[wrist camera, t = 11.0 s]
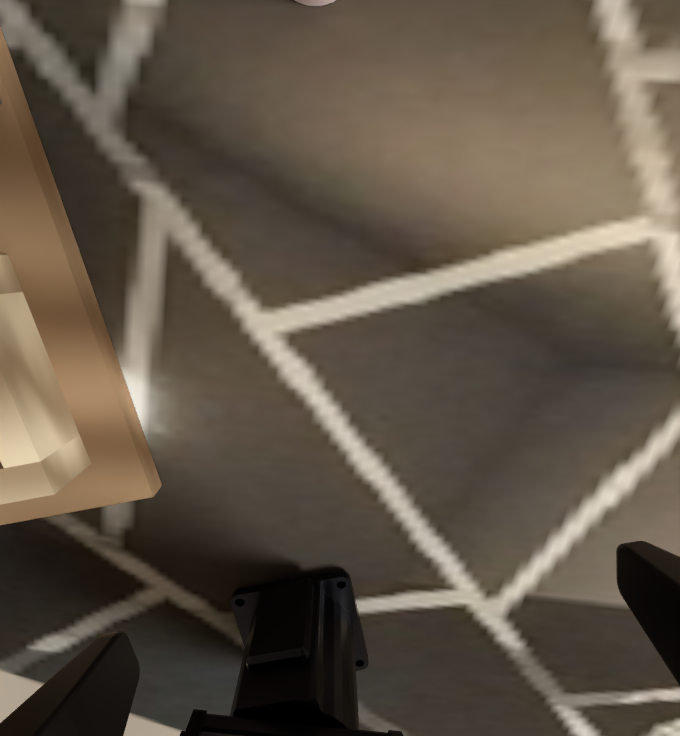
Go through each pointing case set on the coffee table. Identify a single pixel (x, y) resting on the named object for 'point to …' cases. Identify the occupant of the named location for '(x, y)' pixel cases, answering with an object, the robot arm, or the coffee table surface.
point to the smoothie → (314, 2)
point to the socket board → (54, 348)
